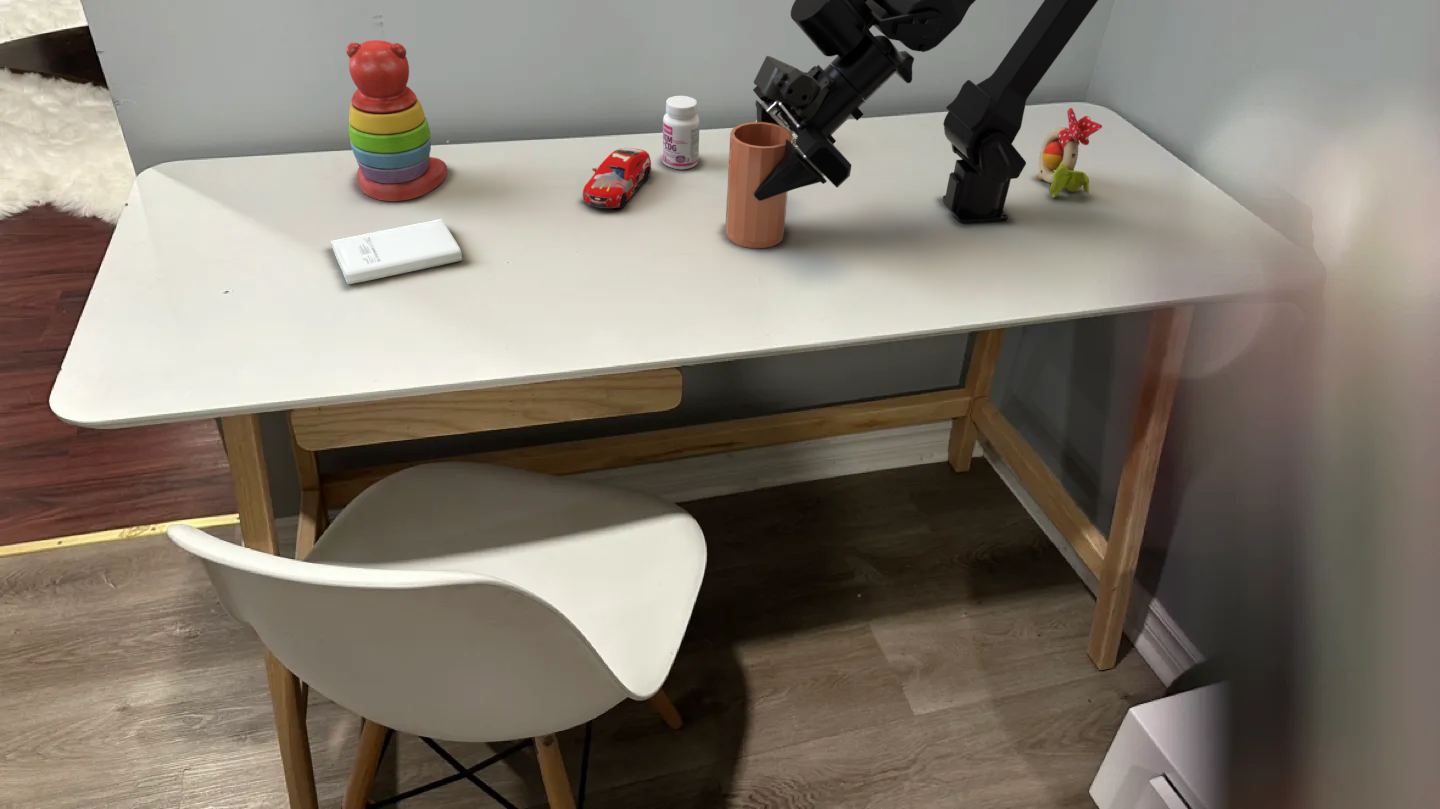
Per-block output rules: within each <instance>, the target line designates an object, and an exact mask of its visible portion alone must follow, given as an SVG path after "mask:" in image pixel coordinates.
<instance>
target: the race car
mask: <svg viewBox="0 0 1440 809" xmlns="http://www.w3.org/2000/svg"><path fill="white" fill-rule="evenodd" d="M592 171H593V172H594V173H593V175H592V176H591V177H590V179H589V180H588V181H587V183H586V184H585V185H584V187H583V189H582V199H583V201H584V202H585V203H586V204H587V205H589V206H592V207H595V208H601V209H602V208H603V209H615V208H620V209H623V208H624V207H625V206H626V203H627V201H628V200H630V198H631V197H632V196H633V195H634V194H635V193H636V191H638V189H639V188H640V187H641V185H642V184H643V183H644V182H648V179H649V177H650V174H651V172H652V161H651V156H650V153H648V152H647V151H646V150H644V149H640V148H634V147H621V148H617V149H615V150H614V151H612V152H611V153H610V154H609V155H608V156H607V157H606V158H604V160H603V161H602V162H601V163H600V164H599V166H598V167H597V168H596V167H592Z"/></svg>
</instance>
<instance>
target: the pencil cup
mask: <svg viewBox="0 0 1440 809" xmlns="http://www.w3.org/2000/svg"><path fill="white" fill-rule="evenodd" d="M786 139H788V140H789V141H790V142H791V143H792V144H793V142H794V141H793V139H794V136H793V134H791V132H790V131H789V130H787V129H786V128H784V127H782V126H779V125H776V124H773V123H765V122H756V121H752V122H751V121H750V122H744V123H741V124H737V125H736V126H735V127H733V128H732V129H731V131H730V133H729V149H728V168H727V189H726V190H727V191H726V210H725V236H726V238H727V239H728V240H729V241H730V242H732V243H733V244H735V245H737V246H740V247H744V248H747V249H767V248H771V247H774V246H776V245H778V244H779V243H781V242H782V240H783V238H784V236H785V235H784V233H785V228H786V217H787V207H788V195H789V191H787V192H785V193H782V194H779V195H776V196H773V197H770V198H767V199H764V200H762V201H759V200H758V199H757V198H756V197H755V196H754V193H755V191H756V190H757V189H758V187H759V186H760V184H761V183H762V182H763V181H764V180H765V178H766V177H767V176H768V175H769V174H770V173H771V171H772V170H773V169H774V168H775V167H776V166H777V164H778V163H779V162H780V161H781V160H782V158H783V157H784V151H785V143H786Z"/></svg>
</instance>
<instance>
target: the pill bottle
mask: <svg viewBox="0 0 1440 809" xmlns="http://www.w3.org/2000/svg"><path fill="white" fill-rule="evenodd" d="M697 113H698V101H697V100H696V98H694V97H691V96H687V95H673V96H670V97H668V98H667V99H666V101H665V114H664V115H663V118H662V162H663V164H664V165H665V166H667V167H669V168H670V169H675V170H688V169H691V168H694V167H695V166H696V165H698V162H699V154H700V152H699V151H700V150H699V149H700V125H701V124H700V123H701V122H700V117H699V115H698V114H697Z"/></svg>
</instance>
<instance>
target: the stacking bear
mask: <svg viewBox="0 0 1440 809" xmlns="http://www.w3.org/2000/svg"><path fill="white" fill-rule="evenodd" d="M345 51H346V56H348V58H349V60H348V69H349V70H348V71H349V74H350V78H351V80H352V82H353V84H354V85H355V86H356V88H357V89H356V90H355V91H354V93H353V94H352V96H351V100H350V101H351V102H350V105H349V111H348V112H349V113H348V119H349V122H348V139H349V142H350V148H351V150H352V153H353V155H354V157H355V159H356V162H357V166H358V169H357V176H356V177H357V184H358V187H359V189H360V190H361V192H363V193H364V194H365V195H367V196H368V197H370V198H372V199H375V200H380V201H387V202H399V201H407V200H412V199H415V198H419V197H421V196H424V195H426V194H427V193H429V192H431V191H433V190H434V189H436V188H438V186H440V184H442V183H443V182H444V180H445V179H446V177H447V174H448V167H447V164H446V162H445V161H444V160H442V159H441V158H438V157H433V156H430V155H431V149H432V138H431V129H430V125H429V122H428V119H427V117H426V115H425V111H424V109H423V106H422V103H421V101H420V100H419V98H418V97H417V95H416V93H415V92H414V91H413V89H411V88H410V87H409V86H407V85H408V82H409V77H410V66H409V61H408V58H407V49H406V48H405V47H404V46H403V45H402V44H401V43H399V42H390V41H386V40H381V39H380V40H378V39H372V40H366V41H364V42H361V43H359V42H350V43H348V44H347V47H346V50H345Z"/></svg>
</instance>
